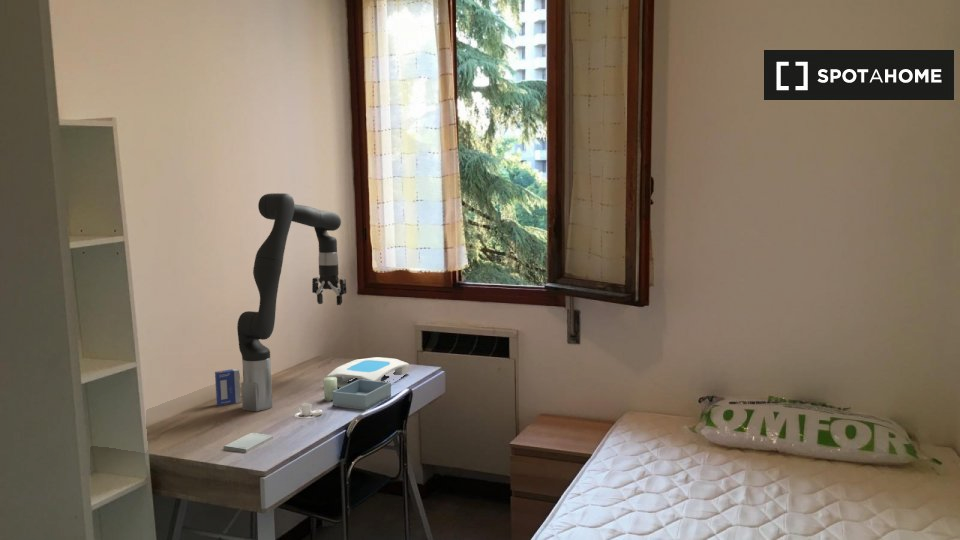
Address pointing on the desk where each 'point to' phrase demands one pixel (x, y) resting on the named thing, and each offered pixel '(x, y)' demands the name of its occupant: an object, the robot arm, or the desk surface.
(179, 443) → the desk surface
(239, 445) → the hard drive
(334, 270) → the robot arm
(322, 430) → the desk surface
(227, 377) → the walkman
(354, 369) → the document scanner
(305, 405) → the teacup and saucer
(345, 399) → the bin
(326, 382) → the mint green capsule
